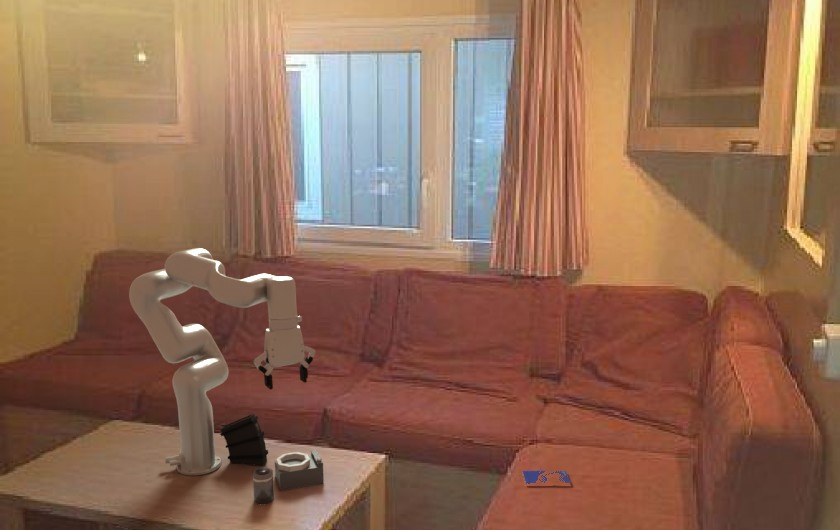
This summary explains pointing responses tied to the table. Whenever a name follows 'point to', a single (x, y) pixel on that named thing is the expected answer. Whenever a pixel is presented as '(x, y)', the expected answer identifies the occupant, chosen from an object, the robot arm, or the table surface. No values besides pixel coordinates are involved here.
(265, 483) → the lens
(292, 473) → the camera body
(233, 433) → the black device
